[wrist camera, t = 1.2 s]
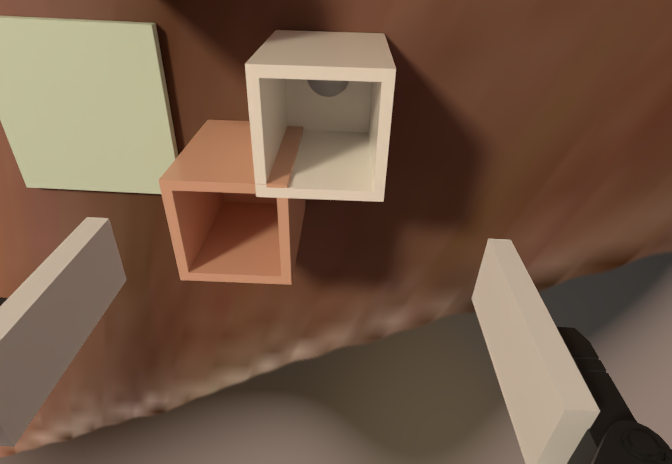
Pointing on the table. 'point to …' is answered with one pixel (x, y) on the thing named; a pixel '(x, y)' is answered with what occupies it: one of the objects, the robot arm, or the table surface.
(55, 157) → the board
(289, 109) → the white open box
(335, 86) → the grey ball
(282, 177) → the terracotta open box
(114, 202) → the table surface
